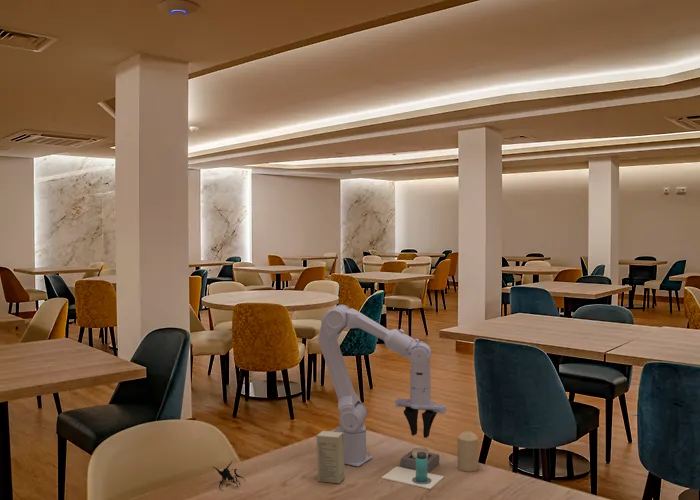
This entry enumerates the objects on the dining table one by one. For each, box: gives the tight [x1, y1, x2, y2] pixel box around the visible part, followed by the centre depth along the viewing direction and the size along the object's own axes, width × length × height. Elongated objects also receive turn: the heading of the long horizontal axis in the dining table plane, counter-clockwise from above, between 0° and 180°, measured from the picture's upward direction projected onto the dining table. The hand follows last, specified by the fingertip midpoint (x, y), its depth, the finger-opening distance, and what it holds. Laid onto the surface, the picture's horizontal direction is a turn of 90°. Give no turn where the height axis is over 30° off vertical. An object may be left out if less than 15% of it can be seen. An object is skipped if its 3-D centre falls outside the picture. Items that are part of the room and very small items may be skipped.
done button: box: [411, 447, 429, 459], centre depth 174 cm, size 4×4×3 cm
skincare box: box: [316, 430, 346, 484], centre depth 164 cm, size 6×4×12 cm
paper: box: [381, 466, 445, 490], centre depth 165 cm, size 14×9×1 cm, turn 59°
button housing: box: [400, 450, 440, 473], centre depth 174 cm, size 8×8×3 cm
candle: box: [457, 430, 479, 473], centre depth 172 cm, size 6×6×10 cm
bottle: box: [416, 452, 427, 483], centre depth 163 cm, size 3×3×7 cm
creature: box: [212, 461, 246, 491], centre depth 161 cm, size 8×5×8 cm
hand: (420, 435), depth 174 cm, fingers open, 3 cm apart
